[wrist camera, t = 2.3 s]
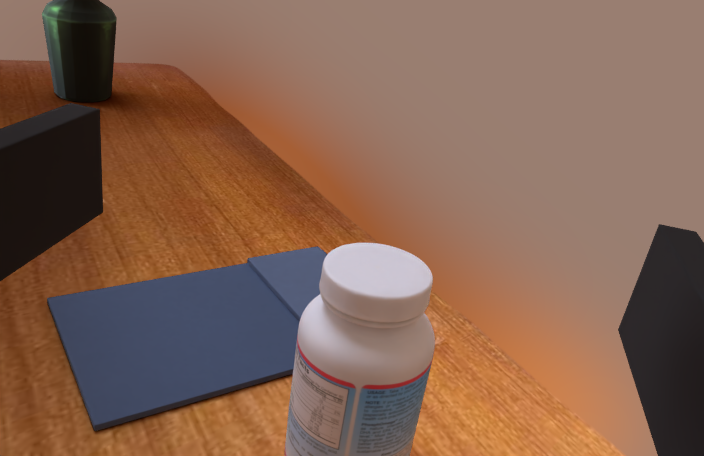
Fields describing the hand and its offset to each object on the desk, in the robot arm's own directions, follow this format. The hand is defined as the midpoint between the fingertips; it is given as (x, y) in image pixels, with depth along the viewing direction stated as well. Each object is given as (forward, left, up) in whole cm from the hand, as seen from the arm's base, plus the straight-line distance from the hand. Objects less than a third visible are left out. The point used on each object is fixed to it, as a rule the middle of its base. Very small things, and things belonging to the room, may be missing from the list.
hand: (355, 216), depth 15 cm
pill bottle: (-7, +7, -18) cm, 20 cm away
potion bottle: (-71, +9, -18) cm, 74 cm away
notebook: (-20, +7, -18) cm, 28 cm away
